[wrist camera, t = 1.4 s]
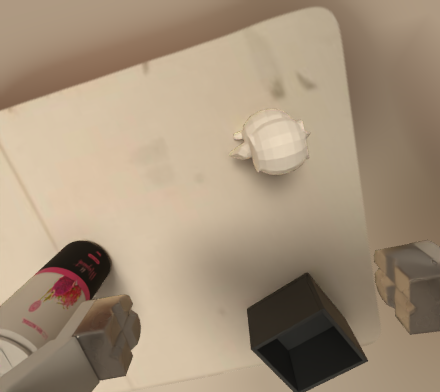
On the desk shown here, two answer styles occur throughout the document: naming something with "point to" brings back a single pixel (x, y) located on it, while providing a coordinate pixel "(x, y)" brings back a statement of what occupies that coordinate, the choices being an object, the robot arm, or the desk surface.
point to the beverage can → (49, 301)
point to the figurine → (272, 142)
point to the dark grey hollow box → (303, 335)
